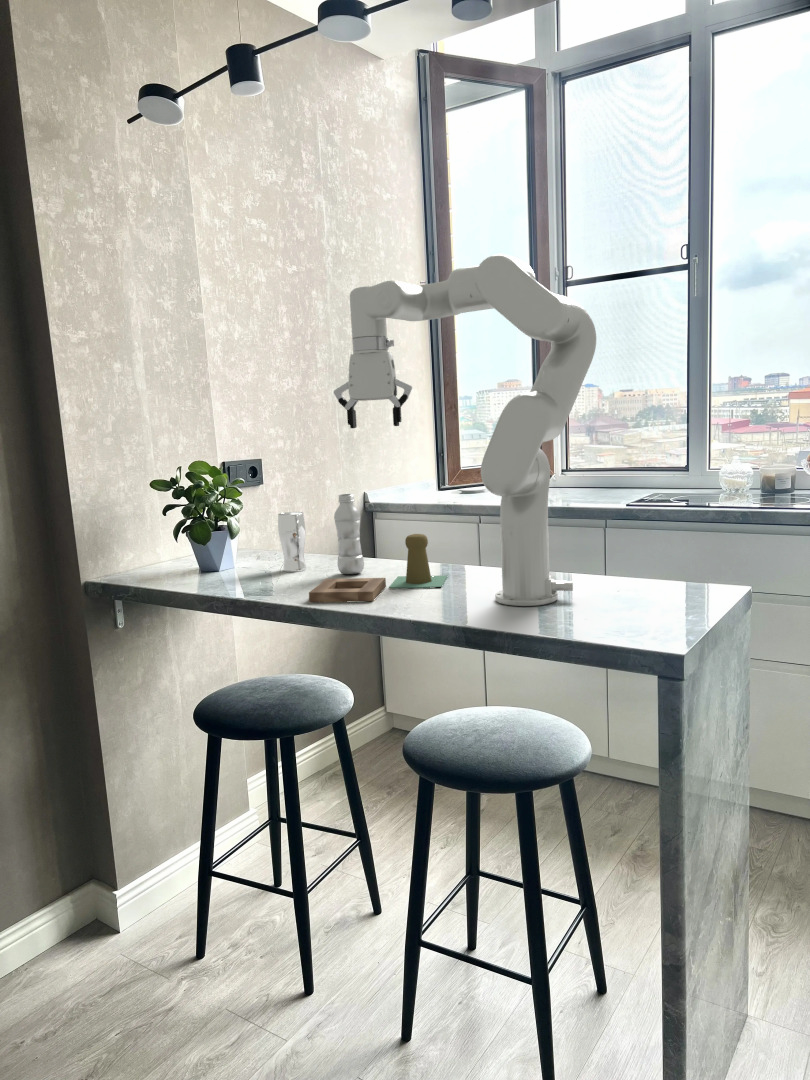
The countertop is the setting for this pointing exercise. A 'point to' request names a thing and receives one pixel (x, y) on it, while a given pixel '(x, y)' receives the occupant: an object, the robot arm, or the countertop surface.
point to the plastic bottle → (348, 536)
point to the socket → (347, 590)
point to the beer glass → (292, 540)
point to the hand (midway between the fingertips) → (374, 427)
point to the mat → (401, 583)
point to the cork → (417, 560)
